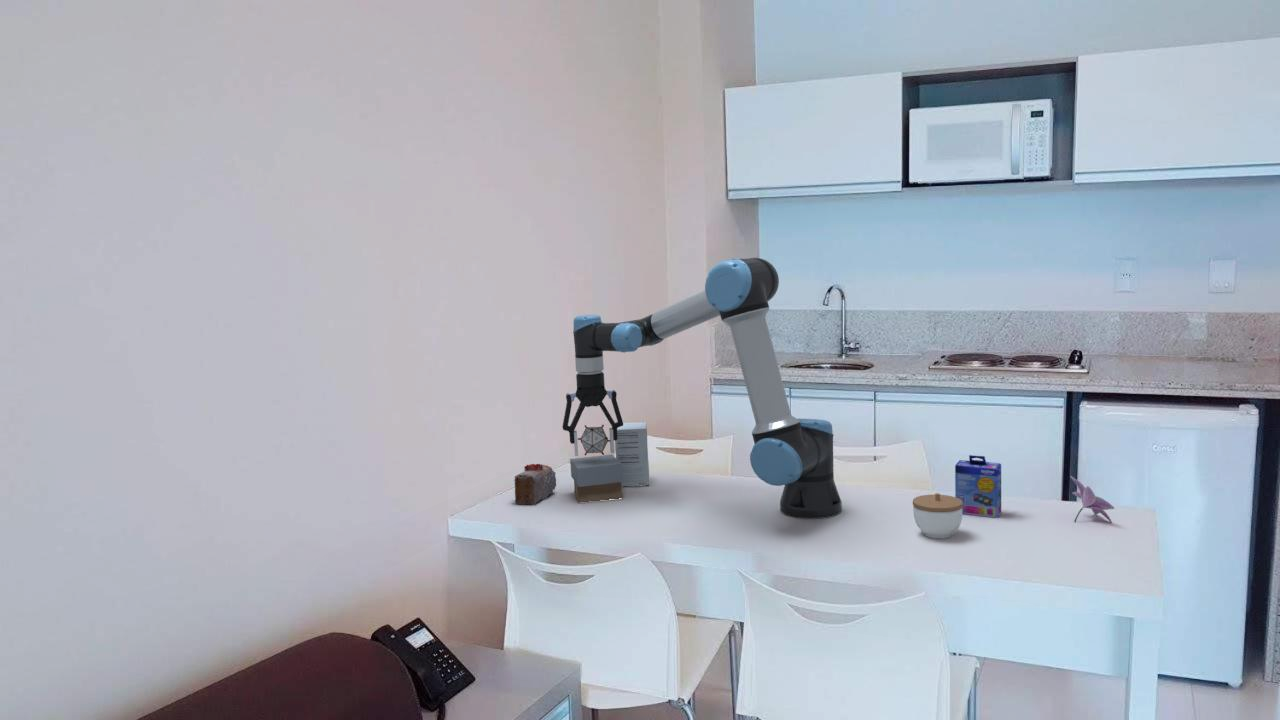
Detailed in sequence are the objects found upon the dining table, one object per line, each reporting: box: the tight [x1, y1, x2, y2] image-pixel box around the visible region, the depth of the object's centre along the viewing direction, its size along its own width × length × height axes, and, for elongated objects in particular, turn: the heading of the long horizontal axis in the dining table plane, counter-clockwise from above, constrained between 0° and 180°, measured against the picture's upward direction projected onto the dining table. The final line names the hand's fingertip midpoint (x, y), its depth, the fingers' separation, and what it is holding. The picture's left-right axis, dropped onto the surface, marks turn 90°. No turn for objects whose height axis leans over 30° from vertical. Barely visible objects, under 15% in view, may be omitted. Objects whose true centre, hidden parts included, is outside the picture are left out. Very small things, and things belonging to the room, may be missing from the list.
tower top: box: [569, 454, 623, 487], centre depth 250 cm, size 12×12×5 cm
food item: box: [514, 463, 557, 506], centre depth 251 cm, size 14×8×10 cm, turn 163°
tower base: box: [573, 480, 623, 504], centre depth 251 cm, size 12×12×5 cm
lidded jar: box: [912, 492, 963, 539], centre depth 204 cm, size 11×11×9 cm
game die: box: [577, 424, 610, 456], centre depth 249 cm, size 9×8×10 cm
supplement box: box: [614, 421, 650, 487], centre depth 262 cm, size 10×9×17 cm
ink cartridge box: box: [954, 454, 1003, 519], centre depth 218 cm, size 10×6×14 cm, turn 59°
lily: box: [1069, 475, 1115, 523], centre depth 209 cm, size 12×12×10 cm
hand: (594, 453), depth 249 cm, fingers closed on game die, 9 cm apart
